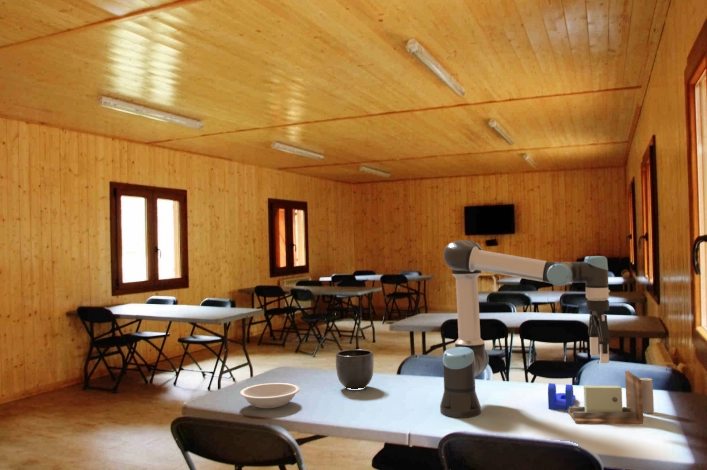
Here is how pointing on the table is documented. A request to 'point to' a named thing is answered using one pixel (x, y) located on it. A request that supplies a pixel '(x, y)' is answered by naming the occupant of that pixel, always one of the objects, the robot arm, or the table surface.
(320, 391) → the table surface
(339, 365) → the planter
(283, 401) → the soup bowl
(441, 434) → the table surface
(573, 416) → the wooden l-shaped piece
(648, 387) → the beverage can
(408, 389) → the table surface
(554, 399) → the bracket
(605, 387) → the door panel
